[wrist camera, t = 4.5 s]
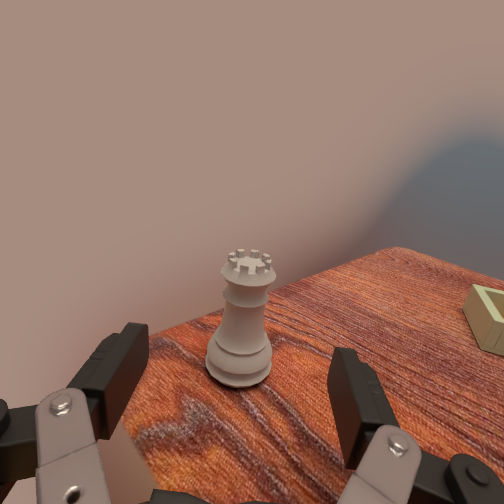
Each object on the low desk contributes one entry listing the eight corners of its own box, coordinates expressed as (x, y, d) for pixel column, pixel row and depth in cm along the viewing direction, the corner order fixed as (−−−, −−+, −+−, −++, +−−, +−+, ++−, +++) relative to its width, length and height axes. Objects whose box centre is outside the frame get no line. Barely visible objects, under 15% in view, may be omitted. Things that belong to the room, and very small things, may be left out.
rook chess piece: (254, 404, 18) (271, 283, 15) (191, 374, 20) (195, 259, 16) (280, 358, 22) (298, 255, 19) (225, 336, 23) (234, 237, 20)
